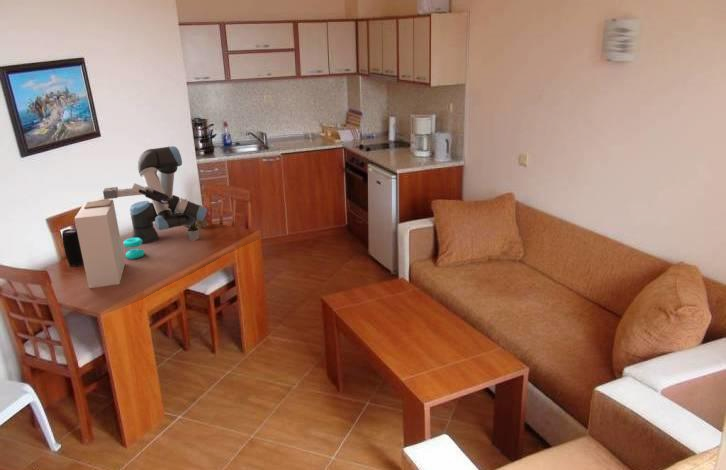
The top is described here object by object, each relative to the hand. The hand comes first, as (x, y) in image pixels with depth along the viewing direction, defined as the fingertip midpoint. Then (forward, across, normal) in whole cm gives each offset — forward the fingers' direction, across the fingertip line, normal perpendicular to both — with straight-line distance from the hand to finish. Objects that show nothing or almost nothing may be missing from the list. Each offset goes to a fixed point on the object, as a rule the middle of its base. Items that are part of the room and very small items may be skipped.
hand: (133, 186), depth 288 cm
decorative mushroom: (-49, -61, +23) cm, 81 cm away
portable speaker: (+10, -19, +57) cm, 61 cm away
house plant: (-45, -37, +25) cm, 64 cm away
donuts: (-16, -19, +42) cm, 49 cm away
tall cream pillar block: (-6, +6, +48) cm, 48 cm away
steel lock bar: (0, 0, +5) cm, 5 cm away
